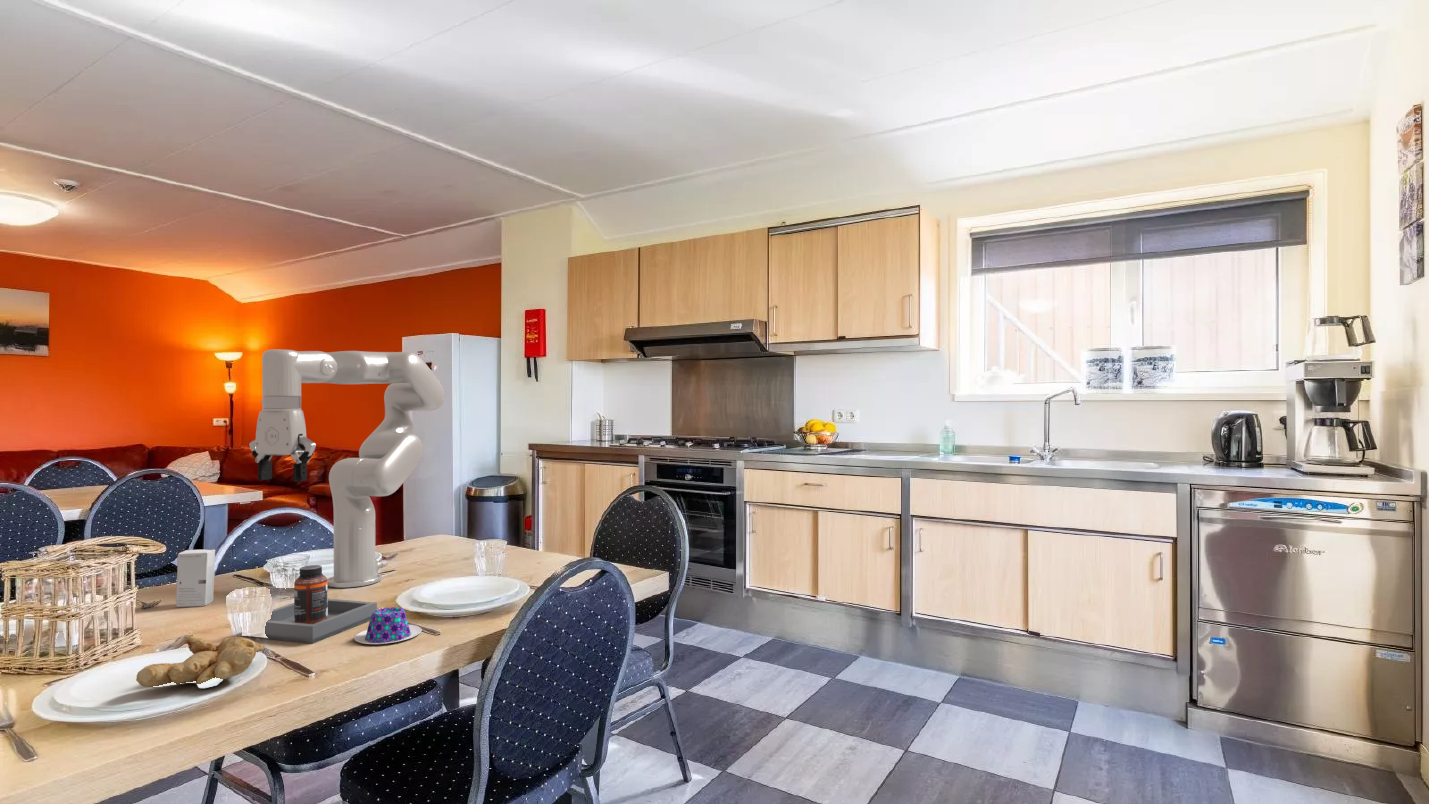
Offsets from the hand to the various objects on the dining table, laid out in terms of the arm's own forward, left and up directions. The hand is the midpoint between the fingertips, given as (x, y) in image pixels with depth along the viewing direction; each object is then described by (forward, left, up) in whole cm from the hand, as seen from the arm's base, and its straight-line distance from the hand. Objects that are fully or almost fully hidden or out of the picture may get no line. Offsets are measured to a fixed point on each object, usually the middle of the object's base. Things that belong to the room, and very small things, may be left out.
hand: (282, 480), depth 161 cm
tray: (+11, +19, -28) cm, 36 cm away
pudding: (+12, +38, -29) cm, 49 cm away
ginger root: (+38, +25, -29) cm, 54 cm away
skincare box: (+4, -20, -28) cm, 35 cm away
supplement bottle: (+11, +19, -28) cm, 35 cm away
